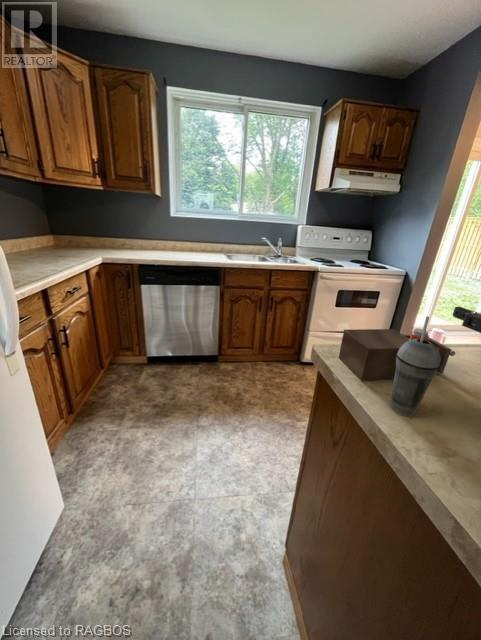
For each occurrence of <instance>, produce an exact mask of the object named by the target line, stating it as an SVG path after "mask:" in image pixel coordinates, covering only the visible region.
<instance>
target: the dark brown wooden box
mask: <svg viewBox="0 0 481 640" xmlns="http://www.w3.org/2000/svg"><path fill="white" fill-rule="evenodd" d="M410 340H411V339H409V338H407V337H406V336H404V335H402V333H401V332H399V331H397V330H395V329H394V328H374V329H373V328H371V329H370V328H367V329H366V328H365V329H364V328H363V329H362V328H361V329H359V328H358V329H343V333H342V339H341V343H340V349H339V354H338V359H339V360H340V361H341V362H342V363H343V364H344V365H345V366H346V367H347V368H348V369H349V370H350V371H351V372H352V374H354V375H355V376H356V377H357V378H358V380H360V381H362V382H363V381H385V380H387V381H389V380H394V377H395V371H396V358H397V357H396V354H397V353H398V351H399V349H400V348H401V346H402V345H403V344H404V343H406V342H408V341H410Z"/></svg>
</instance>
